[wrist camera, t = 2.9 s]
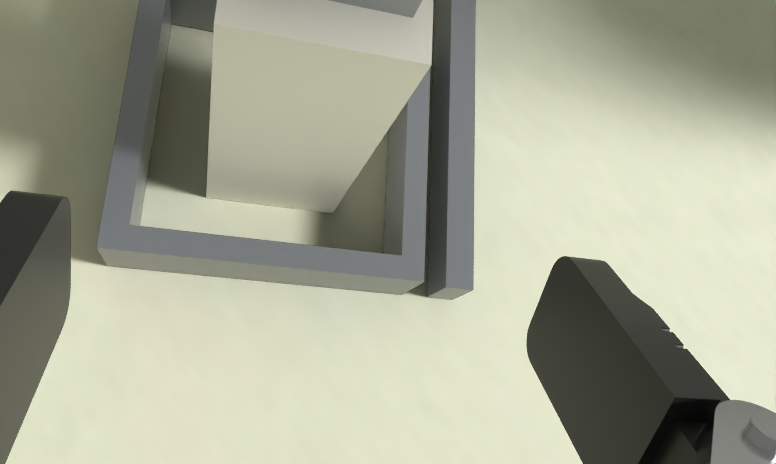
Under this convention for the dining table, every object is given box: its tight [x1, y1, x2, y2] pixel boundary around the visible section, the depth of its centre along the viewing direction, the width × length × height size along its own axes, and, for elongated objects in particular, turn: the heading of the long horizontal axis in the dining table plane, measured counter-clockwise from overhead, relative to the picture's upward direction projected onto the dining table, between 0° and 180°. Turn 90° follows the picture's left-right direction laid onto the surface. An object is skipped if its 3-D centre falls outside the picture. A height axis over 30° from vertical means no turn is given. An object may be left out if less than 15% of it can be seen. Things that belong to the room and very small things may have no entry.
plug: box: [206, 0, 433, 214], centre depth 19 cm, size 4×4×12 cm
